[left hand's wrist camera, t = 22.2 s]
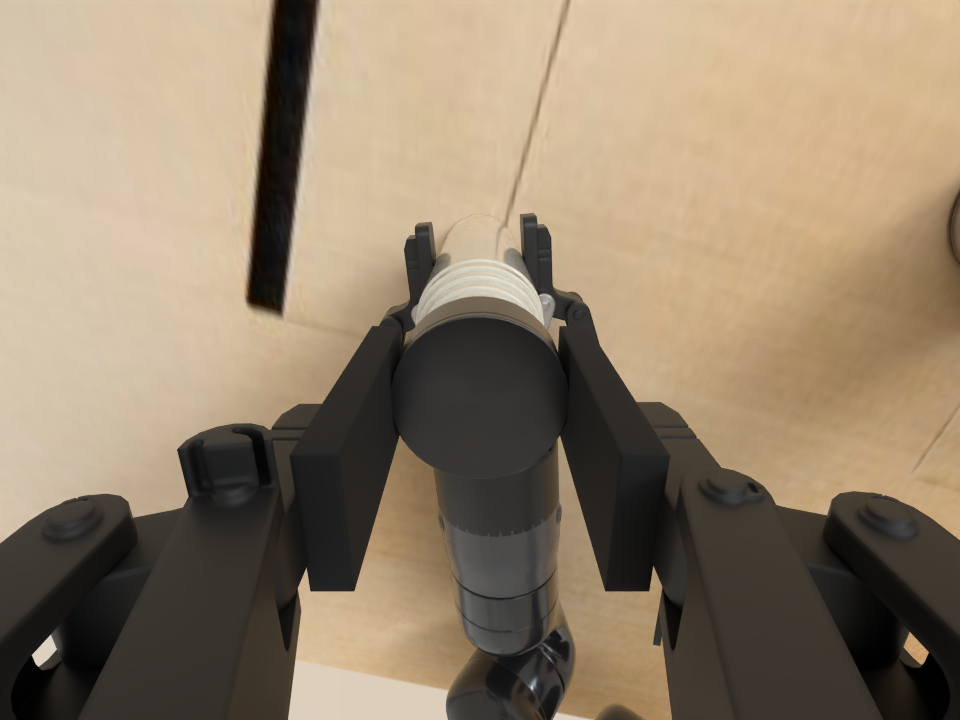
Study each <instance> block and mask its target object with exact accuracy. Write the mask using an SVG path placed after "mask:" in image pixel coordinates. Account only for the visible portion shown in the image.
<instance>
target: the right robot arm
mask: <svg viewBox="0 0 960 720" xmlns="http://www.w3.org/2000/svg"><path fill="white" fill-rule="evenodd" d="M520 229H521V249H522V259H523V261H524V263H525V266H526V268H527V270H528V273H529V275H530V277H531V280H532V282H533V284H534V287H535V289H536V291H537V293H538V296H539V298H540V301H541V305H542V309H543V318H544V327H545V328H546V329H547V331H548V328H549V325H550V322H551V319H552V317H554V318H557V319H561V320H565V322H566V325H567V326H587V327H588V328H589V330H590V331H591V333H592V334H593V336H594V337H595V339H596V341H597V342H598V344H599V341H598V338H597V334H596V331H595V327H594V324H593V320H592V317H591V313H590V310H589V308H588V306H587V305H586V304H585V303H584V302H583V300H582V298H581V297H580V295H579V294H577V293H575V292H568V293H567V292H564V291H560V290H557V289H555V288H554V287H553V284H552V250H551V236H550V234H549V231H548V229H547V227H546V226H545V225H544V224H540V225H537V217H536V215H535V214H534V213H530V214H520ZM951 243H952V247H953V251H954V253H955V256H956V258H957V260H958V261H959V263H960V196H959V198H958V201H957V203H956V206H955V209H954V212H953V216H952V221H951ZM404 253H405V260H406V267H407V275H408V282H409V290H410V300H409V301H408V302H406V303H404V304H402V305H399V306H393V307H391V308H390V309H389V310H388V312H387V313H386V315H385V317H384V318H383V320H382V322H381V323H380V325H379V326H400V334H401V351H402V350H403V348H404V343H405V335H406V332H408V331H410V330H412V329H414V328H415V326H416V314H417V308H418V304H419V301H420V298H421V295H422V293H423V291H424V288H425V286H426V284H427V281H428V279H429V277H430V274H431V272H432V270H433V268H434V265H435V263H436V252H435V243H434V234H433V226H432V222H426V223H418V224H417V225H416V226H415V235H410V236H409V237H408V239H407V240H406V244H405V248H404ZM434 474H435V481H436V489H437V496H438V504H439V515H438V518H439V524H440V528H441V529H442V534H443V540H444V544H445V548H446V551H447V554H448V557H449V561H450V565H451V572H452V580H453V588H454V595H455V603H456V610H457V615H458V618H459V622H460V625H461V628H462V630H463V632H464V634H465V635H466V637H467V639H468V640H469V641H470V642H471V643H472V644H473V645H474V646H475V647H476V648H477V650H476V651H475V653H474V654H473V655H472V657H471V658H470V659H469V661H468V662H467V664H466V665H465V666H464V668H463V669H462V670H461V672H460V673H459V675H458V676H457V677H456V679H455V680H454V682H453V684H452V685H451V687H450V689H449V692H448V695H447V700H446V712H447V717H448V720H553V718H554V716H555V714H556V712H557V710H558V708H559V706H560V704H561V702H562V700H563V698H564V696H565V694H566V692H567V691H568V688H569V686H570V684H571V681H572V677H573V674H574V668H575V660H576V649H575V643H574V640H573V637H572V634H571V631H570V628H569V626H568V623H567V620H566V617H565V614H564V611H563V609H562V607H561V604H560V602H559V600H558V573H557V550H558V544H559V535H560V521H561V505H560V502H559V473H558V439H557V440H556V441H555V443H554V444H553V446H552V447H551V448H550V449H549V450H548V451H547V452H546V453H545V454H544V455H543V456H542V457H541V458H539V459H538V460H537V461H535V462H534V463H532V464H531V465H529V466H528V467H526V468H524V469H522V470H520V471H517V472H515V473H512V474H509V475H505V476H501V477H496V478H488V479H472V478H463V477H459V476H454V475H451V474H448V473H445V472H442V471H440V470H438V469H436V468H434ZM595 720H645V719H644V718H643V717H641V716H640V715H638V714H637V713H636V712H634V711H632V710H631V709H629V708H628V707H626V706H624V705H621V704H611V705H608V706H607V707H605V708H604V709H603V710H602V711H601V712H600V713H599V714H598V716H597V717H596V718H595Z"/></svg>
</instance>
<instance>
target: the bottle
mask: <svg viewBox="0 0 960 720" xmlns="http://www.w3.org/2000/svg"><path fill="white" fill-rule="evenodd" d="M472 296H486V297H495V298H499V299H503V300H507V301H509V302H512V303H514V304H517V305H518V306H520V307H522V308H524V309H526V310H527V311H528V312H530V313H531V314H532V315H534V316H535V317H536V318H537V319H538V320H539V321H540V322H541V323H542V324H543V326H544V318H543V309H542V305H541V301H540V298H539V296H538V293H537V291H536V289H535V287H534V284H533V282H532V280H531V277H530V275H529V273H528V270H527V268H526V266H525V263H524V261H523V259H522V256H521V254H520V252H519V249H518V247H517V245H516V242H515V240H514V238H513V235H512V233H511V232H510V230H509V229H508V228H507V226H506V225H505V224H503V223H502V222H501V221H499V220H498V219H496V218H494V217H491V216H487V215H473V216H469V217H466V218H464V219H462V220H461V221H459V222H458V223H457V224H455V225H454V226H453V228H452V229H451V230H450V232H449V233H448V235H447V237H446V240H445V242H444V244H443V247H442V249H441V251H440V254H439V256H438V258H437V261H436V263H435V265H434V268H433V270H432V272H431V274H430V277H429V279H428V281H427V284H426V286H425V288H424V291H423V293H422V295H421V298H420V301H419V304H418V308H417V314H416V325H417V324H418V323H419V322H420V321H421V320H422V319H423V318H424V317H425V316H426V315H427V314H429V313H430V312H431V311H433V310H434V309H436V308H438V307H439V306H441V305H443V304H446V303H448V302H450V301H453V300H457V299H460V298H466V297H472Z"/></svg>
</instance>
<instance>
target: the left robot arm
mask: <svg viewBox="0 0 960 720" xmlns="http://www.w3.org/2000/svg"><path fill="white" fill-rule="evenodd" d="M401 353H402V351H401V334H400V326H372V328H371V329H370V331H369V332H368V334H367V335H366V337H365V338H364V340H363V342H362V343H361V345H360V346H359V348H358V349H357V351H356V352H355V354H354V356H353V357H352V359H351V360H350V362H349V363H348V365H347V366H346V368H345V369H344V371H343V373H342V374H341V376H340V377H339V379H338V380H337V382H336V383H335V385H334V387H333V388H332V390H331V391H330V393H329V394H328V396H327V397H326V399H325V401H324V402H323V404H298V405H297V406H295V407H293V408H292V409H290V410H289V411H287V412H285V413H284V414H282V415H281V416H280V417H279V419H278V420H277V421H276V423H275V424H274V425H273V426H272V430H268V429H267V428H265V427H264V426H260V425H256V424H251V423H250V424H230V425H225V426H219V427H215V428H212V429H209V430H207V431H204V432H201V433H199V434H197V435H195V436H193V437H191V438H190V439H188V440H186V441H185V442H184V443H183V444H182V445H181V446H180V447H179V448H178V449H177V451H178V455H179V459H180V463H181V467H182V471H183V475H184V479H185V483H186V487H187V491H188V495H189V497H188V499H187V501H186V503H185V505H184V507H183V508H179V509H176V510H171V511H166V512H161V513H156V514H151V515H146V516H140V517H135V518H133V516H132V513H131V510H130V506H129V503H128V501H126V500H125V499H124V498H123V497H121V496H118V495H111V494H99V495H87V496H82V497H78V498H77V499H76V498H74V499H70V500H67V501H65V502H63V503H61V504H59V505H57V506H55V507H52V508H50V509H48V510H46V511H44V512H43V513H41V514H39V515H38V516H36V517H35V518H33V519H32V520H30V521H28V522H27V523H26V524H25V525H23V526H22V527H21V528H20V529H18V530H17V531H16V532H14V533H13V534H12V535H11V536H9V537H8V538H7V539H5V540H4V541H3V542H2V543H0V720H288V715H289V706H290V698H291V690H292V682H293V674H294V666H295V657H296V649H297V641H298V633H299V625H300V617H301V606H300V599H299V593H298V586H299V584H300V581H301V579H302V577H303V574H304V572H305V570H306V567H307V572H308V578H309V585H310V591H354V590H355V587H356V584H357V580H358V577H359V573H360V570H361V566H362V563H363V559H364V556H365V553H366V549H367V546H368V542H369V539H370V535H371V532H372V528H373V525H374V522H375V518H376V515H377V511H378V508H379V504H380V501H381V497H382V494H383V491H384V487H385V484H386V480H387V477H388V473H389V470H390V466H391V463H392V460H393V456H394V453H395V449H396V446H397V442H398V439H399V435H400V434H399V432H398V431H397V429H396V426H395V424H394V421H393V414H392V400H391V380H392V376H393V373H394V371H395V368H396V365H397V363H398V360H399V358H400V355H401ZM558 354H559V357H560V359H561V362H562V364H563V366H564V369H565V371H566V374H567V378H568V382H569V395H568V409H567V420H566V423H565V426H564V428H563V430H562V432H561V434H560V437H561V440H562V443H563V447H564V450H565V454H566V457H567V461H568V464H569V468H570V471H571V474H572V478H573V481H574V485H575V488H576V492H577V495H578V499H579V502H580V505H581V509H582V512H583V516H584V519H585V523H586V526H587V530H588V533H589V536H590V540H591V543H592V547H593V550H594V554H595V557H596V561H597V564H598V567H599V571H600V574H601V578H602V581H603V585H604V588H605V591H649V589H650V582H651V576H652V570H653V566H654V568H655V570H656V573H657V575H658V577H659V580H660V582H661V584H662V593H661V599H660V605H659V611H658V617H657V623H656V629H655V635H654V642H653V645H659V646H660V643H661V638H662V640H663V648H664V656H665V664H666V672H667V681H668V689H669V697H670V705H671V713H672V720H960V540H959V539H957V538H956V537H955V536H953V535H952V534H951V533H950V532H948V531H947V530H946V529H944V528H943V527H942V526H941V525H939V524H938V523H937V522H935V521H934V520H933V519H931V518H930V517H928V516H927V515H925V514H923V513H922V512H920V511H919V510H917V509H916V508H914V507H912V506H909V505H907V504H904V503H902V502H900V501H899V500H897V499H895V498H892V497H889V496H882V495H881V494H876V493H866V492H855V491H853V492H846V493H840V494H838V495H837V496H836V497H835V498H833V499H832V501H831V505H830V508H829V511H828V515H821V514H816V513H811V512H806V511H801V510H795V509H790V508H786V507H782V506H778V505H776V504H775V502H774V500H773V498H772V496H771V495H770V493H769V492H768V491H767V490H766V489H765V487H764V486H763V485H761V484H760V483H758V482H757V481H755V480H754V479H752V478H751V477H749V476H746V475H744V474H741V473H739V472H736V471H734V470H729V469H724V468H721V467H720V466H719V464H718V463H717V462H716V460H715V459H714V458H713V457H712V455H711V454H710V453H709V451H708V450H707V449H706V448H705V446H704V445H703V444H702V443H701V441H700V440H699V439H697V438H696V435H695V434H694V432H693V431H692V430H691V428H688V425H687V423H686V422H685V421H684V420H683V418H682V417H681V416H680V414H679V413H678V412H676V411H674V410H673V409H671V408H669V407H668V406H666V405H664V404H663V403H661V402H636V401H635V400H634V398H633V396H632V395H631V393H630V392H629V390H628V389H627V387H626V386H625V384H624V382H623V381H622V379H621V378H620V376H619V375H618V373H617V372H616V370H615V369H614V367H613V365H612V364H611V362H610V361H609V359H608V358H607V356H606V355H605V353H604V351H603V350H602V348H601V347H600V345H599V344H598V342H597V341H596V339H595V337H594V336H593V334H592V333H591V331H590V330H589V328H588V327H587V326H560V328H559V345H558ZM909 632H911V633H912V634H913V636H914V637H915V638H916V639H917V640H918V641H919V642H920V643H921V644H922V645H923V646H924V647H925V648H926V649H927V651H928V652H929V654H928V656H927V658H926V660H925V662H924V664H923V665H921V664H919V663H918V662H917V661H916V660H915V659H914V658H913V657H912V656H911V655H910V654H909V653H908V652H907V651H906V650H905V649H904V644H905V642H906V640H907V637H908V635H909ZM50 635H51V636H52V638H53V641H54V643H55V646H56V648H57V650H56V651H55V652H54V653H53V655H52V656H51V657H50V658H49V659H48V660H47V661H46V662H44V663H43V664H42V665H41V666H39V667H38V666H37V665H36V664H35V662H34V659H33V657H32V654H33V653H34V652H35V651H36V650H37V649H38V648H39V647H40V646H41V644H42V643H43V642H44V641H45V640H46V639H47V638H48V637H49V636H50Z"/></svg>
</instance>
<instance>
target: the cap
mask: <svg viewBox="0 0 960 720" xmlns="http://www.w3.org/2000/svg"><path fill="white" fill-rule="evenodd" d="M568 395H569V382H568V378H567V374H566V371H565V369H564V366H563V364H562V362H561V359H560V357H559V354H558V352H557V349H556V347H555V344H554V342H553V339H552V338H551V336H550V334H549V332H548V331H547V329H546V328H545V327H544V326H543V324H542V323H541V322H540V321H539V320H538V319H537V318H536V317H535V316H534V315H532V314H531V313H530V312H528V311H527V310H526V309H524V308H522V307H520V306H518V305H517V304H514V303H512V302H509V301H507V300H503V299H499V298H495V297H486V296H472V297H466V298H460V299H457V300H453V301H450V302H448V303H446V304H443V305H441V306H439V307H438V308H436V309H434V310H433V311H431V312H430V313H429V314H427V315H426V316H425V317H424V318H423V319H422V320H421V321H420V322H419V323H418V324H417V325H416V326H415V328H414V329H413V331H412V332H411V333H410V335H409V337H408V339H407V341H406V343H405V346H404V348H403V350H402V353H401V355H400V358H399V360H398V363H397V365H396V368H395V371H394V373H393V376H392V380H391V400H392V414H393V421H394V424H395V426H396V429H397V431H398V432H399V434H400V436H401V438H402V439H403V441H404V442H405V443H406V445H407V446H408V447H409V448H410V449H411V450H412V451H413V452H414V453H415V454H416V455H417V456H418V457H419V458H420V459H422V460H423V461H424V462H426V463H427V464H429V465H430V466H432V467H434V468H436V469H438V470H440V471H442V472H445V473H448V474H451V475H454V476H459V477H463V478H472V479H488V478H496V477H501V476H505V475H509V474H512V473H515V472H517V471H520V470H522V469H524V468H526V467H528V466H529V465H531V464H532V463H534V462H535V461H537V460H538V459H539V458H541V457H542V456H543V455H544V454H545V453H546V452H547V451H548V450H549V449H550V448H551V447H552V446H553V444H554V443H555V441H556V440H557V439H558V437H559V436H560V434H561V432H562V430H563V428H564V426H565V423H566V420H567V409H568Z"/></svg>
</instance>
